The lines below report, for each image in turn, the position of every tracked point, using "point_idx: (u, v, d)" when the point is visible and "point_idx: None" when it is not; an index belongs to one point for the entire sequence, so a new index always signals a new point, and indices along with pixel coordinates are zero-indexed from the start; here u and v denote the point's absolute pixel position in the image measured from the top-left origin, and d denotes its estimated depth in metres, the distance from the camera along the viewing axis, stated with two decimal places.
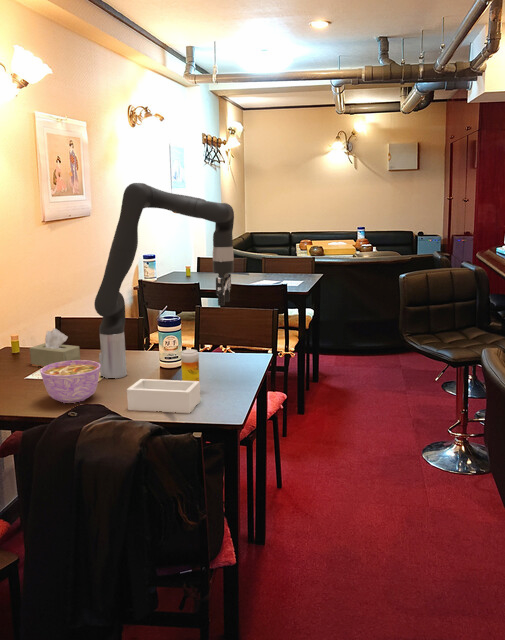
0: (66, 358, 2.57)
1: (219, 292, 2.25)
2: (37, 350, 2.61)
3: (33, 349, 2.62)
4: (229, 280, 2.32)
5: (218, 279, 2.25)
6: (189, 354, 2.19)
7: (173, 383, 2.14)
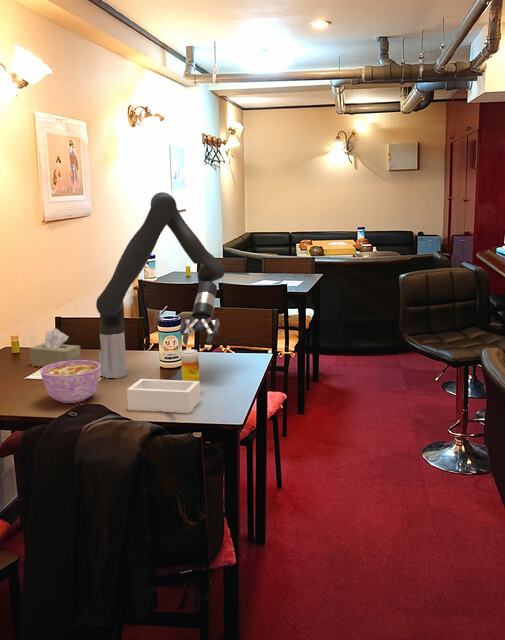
0: (68, 358, 2.57)
1: (217, 332, 2.31)
2: (37, 350, 2.61)
3: (33, 349, 2.62)
4: None
5: (218, 321, 2.34)
6: (189, 354, 2.19)
7: (173, 383, 2.14)
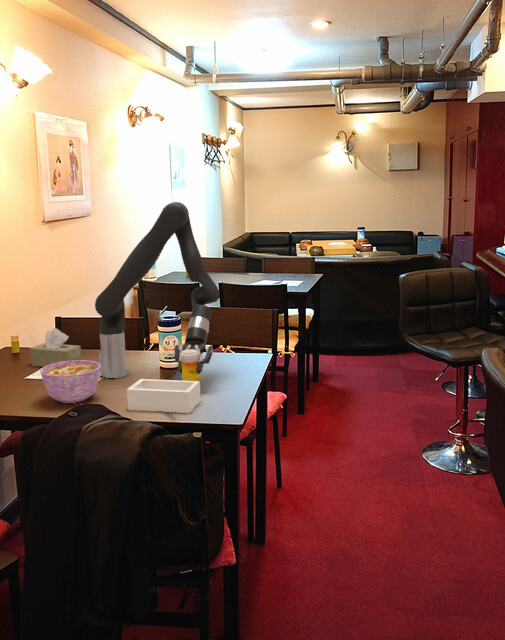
0: (68, 357, 2.57)
1: (208, 360, 2.23)
2: (38, 350, 2.61)
3: (34, 349, 2.62)
4: None
5: (212, 349, 2.25)
6: (189, 354, 2.19)
7: (173, 383, 2.14)
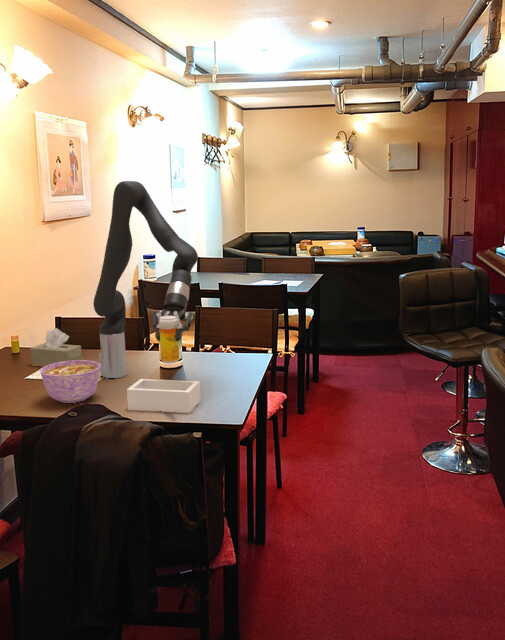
0: (69, 357, 2.58)
1: (187, 327, 2.10)
2: (38, 350, 2.61)
3: (34, 349, 2.62)
4: None
5: (192, 315, 2.12)
6: (167, 320, 2.06)
7: (173, 383, 2.14)
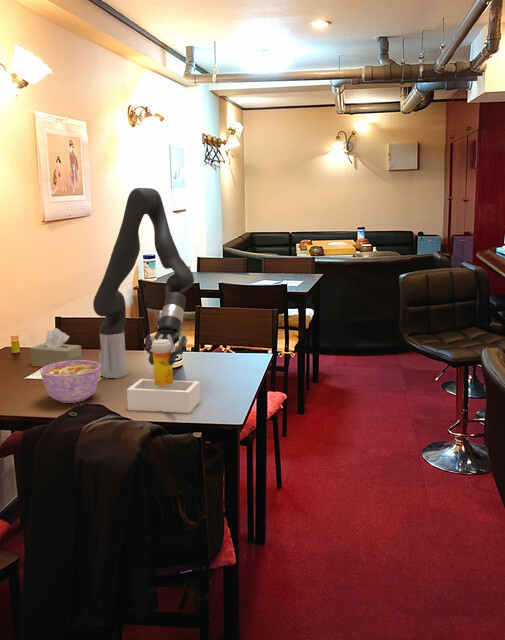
0: (69, 357, 2.58)
1: (181, 351, 2.09)
2: (38, 350, 2.61)
3: (34, 349, 2.62)
4: None
5: (186, 338, 2.11)
6: (160, 344, 2.05)
7: (173, 383, 2.14)
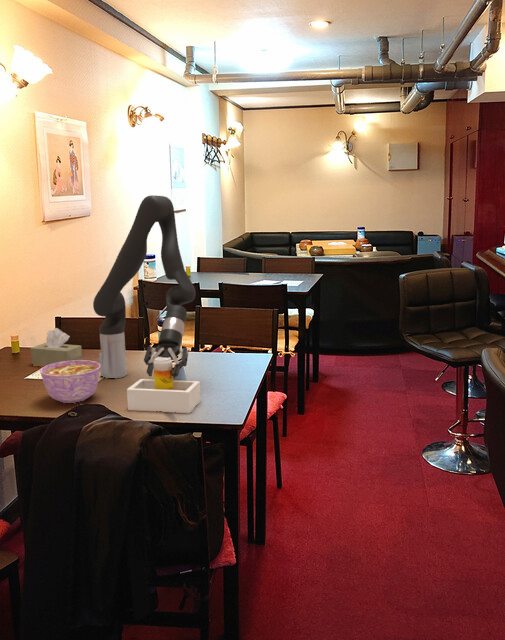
0: (69, 357, 2.58)
1: (185, 362, 2.10)
2: (39, 350, 2.61)
3: (34, 349, 2.62)
4: None
5: (187, 350, 2.12)
6: (162, 362, 2.06)
7: (173, 383, 2.14)
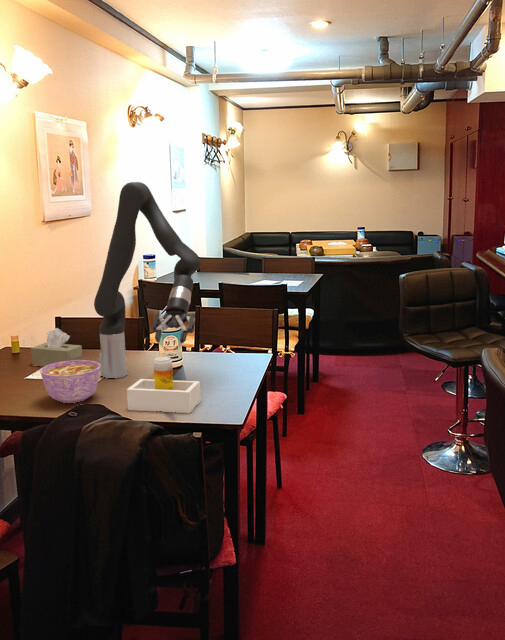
0: (70, 357, 2.58)
1: (192, 329, 2.17)
2: (39, 350, 2.61)
3: (35, 349, 2.62)
4: None
5: None
6: (162, 362, 2.06)
7: (173, 383, 2.14)
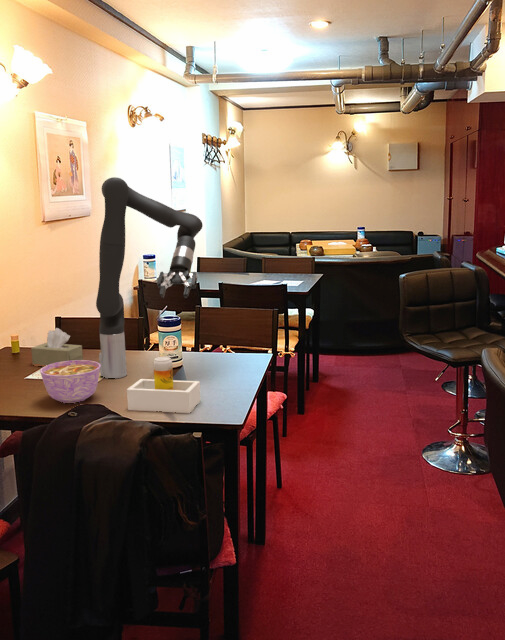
0: (70, 357, 2.58)
1: (194, 285, 2.30)
2: (39, 350, 2.61)
3: (35, 349, 2.62)
4: None
5: (196, 274, 2.32)
6: (162, 362, 2.06)
7: (173, 383, 2.14)
